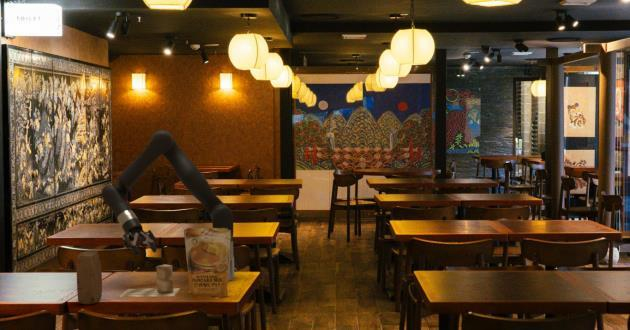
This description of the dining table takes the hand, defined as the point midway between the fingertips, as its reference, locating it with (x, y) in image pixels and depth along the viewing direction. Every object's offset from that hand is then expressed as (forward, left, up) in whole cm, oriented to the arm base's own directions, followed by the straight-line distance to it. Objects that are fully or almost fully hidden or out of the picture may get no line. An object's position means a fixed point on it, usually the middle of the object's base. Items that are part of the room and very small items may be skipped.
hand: (147, 252), depth 317 cm
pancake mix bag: (-26, +8, -17) cm, 32 cm away
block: (+20, +15, -17) cm, 30 cm away
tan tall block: (-9, +7, -15) cm, 19 cm away
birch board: (-2, +7, -17) cm, 18 cm away
